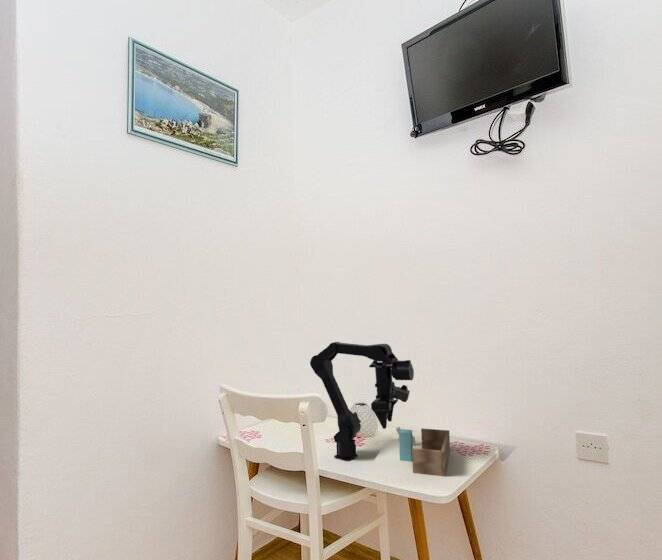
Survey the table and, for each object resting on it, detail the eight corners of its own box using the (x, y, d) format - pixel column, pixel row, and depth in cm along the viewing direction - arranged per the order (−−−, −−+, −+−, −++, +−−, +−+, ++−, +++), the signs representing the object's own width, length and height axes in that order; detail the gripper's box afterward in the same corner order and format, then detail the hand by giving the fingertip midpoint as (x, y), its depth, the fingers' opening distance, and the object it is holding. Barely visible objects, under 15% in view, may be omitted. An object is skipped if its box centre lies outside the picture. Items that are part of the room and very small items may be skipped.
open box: (413, 477, 135) (412, 449, 135) (422, 452, 156) (421, 428, 157) (445, 481, 131) (444, 452, 132) (450, 455, 153) (449, 430, 154)
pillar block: (399, 464, 146) (398, 432, 146) (401, 460, 150) (400, 429, 150) (411, 465, 144) (410, 433, 145) (413, 461, 148) (412, 430, 149)
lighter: (415, 448, 162) (414, 427, 162) (415, 449, 160) (414, 428, 160) (396, 447, 163) (396, 426, 163) (396, 449, 161) (395, 427, 162)
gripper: (402, 384, 137) (405, 433, 136) (410, 375, 155) (414, 418, 154) (369, 384, 141) (372, 432, 140) (381, 375, 159) (384, 417, 157)
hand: (387, 424), depth 148 cm, fingers open, 9 cm apart
